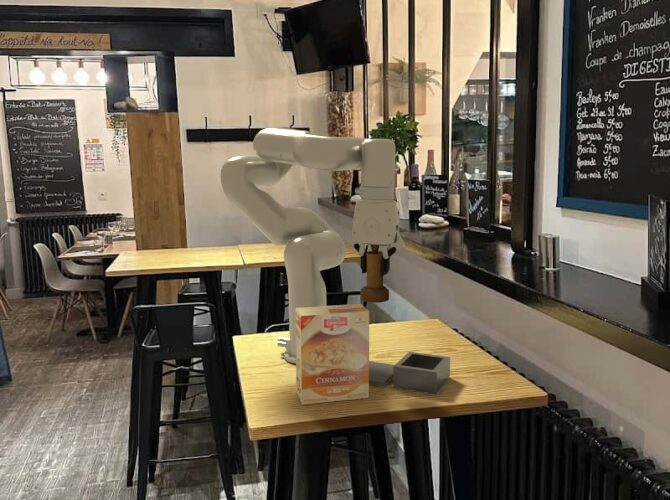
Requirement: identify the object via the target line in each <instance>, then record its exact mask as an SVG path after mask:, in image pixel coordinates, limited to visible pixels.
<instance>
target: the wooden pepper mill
mask: <svg viewBox="0 0 670 500" xmlns="http://www.w3.org/2000/svg"><path fill="white" fill-rule="evenodd" d="M370 249H371V251H369V250H368V252H367V272H366V277H365V278H366V279H365V280H366V283H365V284H366V285H364V286H363V287H362V288H360V291H359V292H360V294H359V295H360V297H359V298H360V300H361V301H363V302H365V303H371V304H372V303H374V304H375V303H378V304H379V303H384V302H387V301H389V299H390V289H389V288H387V287H386V286H385V285H384V276H381V275H380V268H381V259H382V258H383V252H382V251H381V250H379V249H380V245H370Z"/></svg>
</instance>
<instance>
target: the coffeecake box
mask: <svg viewBox="0 0 670 500" xmlns="http://www.w3.org/2000/svg"><path fill="white" fill-rule="evenodd" d="M295 319H296V364H295V368H296V369H295V371H296V372H295V382H296V383H295V387H296V395H297V397H298V400H299V401H300V404H301V405H302V406H306V405H311V404H313V405H314V404H321V403H322V404H323V403H331V402H341V401H342V402H343V401H351V400H360V399H361V398H363V399H369V398H370V384H369V361H370V311H369V309H367V308H366V307H365V306H364V305H363V304H362V303H353V304H352V303H351V304H339V305H337V304H336V305H326V306H319V307H303V308H295ZM368 397H369V398H368Z"/></svg>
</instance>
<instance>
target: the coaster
mask: <svg viewBox="0 0 670 500" xmlns="http://www.w3.org/2000/svg"><path fill="white" fill-rule="evenodd" d="M394 365H395V364H392V363H386V362H378V361H371V360H369V386H370V385H371V386H376V387H377V386H378V387H382V386H383V387H386V386H387V385H388V383H389V382H391V381H392V380H393V366H394ZM385 385H386V386H385Z"/></svg>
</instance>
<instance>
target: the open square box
mask: <svg viewBox="0 0 670 500" xmlns="http://www.w3.org/2000/svg"><path fill="white" fill-rule="evenodd" d="M393 365H394V366H393V379H392V380H393V381H392V383H393V385H392V387H393V388H395V389H400V388H401V390H406V389H407V390H408V391H412V390H413V392H418V391H419V393H424V392H427V394H431V393H432V395H438V393H439V392H440V391H441V390H442V388H443V387H444V386H445V385H446V383H447V382H448V381H449V380H450V378H451V357H450V356H445V355H444V356H443V355H437V354H429V353H421V352H416V351H408V352H407V353H405V355H404V356H403V357H402V358H401V359H399V360H398V361H397V362H396V363H395V364H393ZM407 390H406V391H407Z"/></svg>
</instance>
